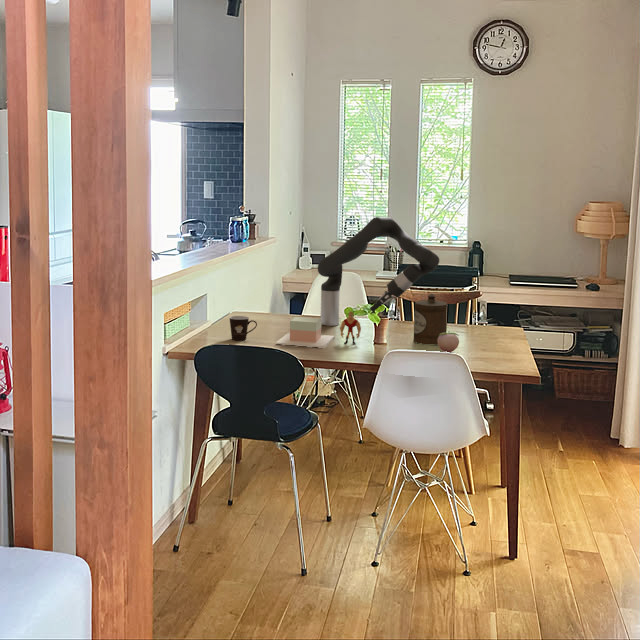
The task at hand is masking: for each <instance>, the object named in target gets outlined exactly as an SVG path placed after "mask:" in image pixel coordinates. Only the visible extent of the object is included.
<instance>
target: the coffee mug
mask: <svg viewBox="0 0 640 640" xmlns="http://www.w3.org/2000/svg"><path fill="white" fill-rule="evenodd" d="M252 322H253V323H255V326H254V327H253V328H252V329H250V330H249V331H248V326H249V325H250V323H252ZM229 325H230V336H231V340H232V341H234V342H245V341H246V340H247V336H248V334H249V333H251V332H253V331H254V330H255V329H256V328H257V326H258V323H257V321H256V320H253V319H251V320H249V316H246V315H245V316H244V315H233V316H230V317H229Z"/></svg>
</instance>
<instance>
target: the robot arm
mask: <svg viewBox="0 0 640 640" xmlns="http://www.w3.org/2000/svg"><path fill="white" fill-rule="evenodd" d="M377 238H391V239H393V240H395V241H396V242H397V243H398V245H399V247H400V249H401V250H402V251H403V252H404V253H406V254H407V255H408V256H410V257H411V258H413V259H414V260H415V261H417V262H418V264H415V263H412V264H409V265H408V266H406V268H405V269H403V271H401V272H400V273H399V274H397V275H396V276H395V277H394V278H393V279H391V280H390V281H389V282H388V283H387V284H386V287H387V289H388V290H385V291H384V292H383V293H382V295H381V296H380V297H379V298H378V300H377V301H375V303H373V305H371V306H370V310H371V311H372V312H375V311H376V310H377V309H378V308H380V307H382V306H383V305H385V304H386V303H387V302H388V301H390V300H391V299H392V298H393V296H394V297H396V298H399V297H401V295H403V294H404V293H406V291H407V290H408V289H410V288H411V286H412V285H413V284H414V283H416V281H418V280H419V279H420V278H421V277H423V276H426V275H427V274H429V273H431V272H432V271H434V270H435V269H436V268H437V267H438V266H439V265H440V257H439V256H438V255H437V254H436V253H435V252H433V251H432V250H431V249H430V248H428V247H426V246H425V245H423V244H422V243H421V242H419V241H418V240H416V239H415V238H413V237H412V236H411V235H409V234H408V233H407V232H406V231H405V230H404V229H403V228H402V227H401V226H400V225H399V223H398V222H397V221H395V219H393V218H392V217H390V216H375V217H373V218H372V219H371V220H370V221H369V222H368V223H367V224H365V226H364V227H363V228H362V229H361V230H359V231H358V232H357V233H356V234H355V235H354V236H352V237H351V238H349V239H348V240H347V241H345V242H344V243H343V244H341V246H339V247H338V248H337V249H335V251H333V252H331V254H328V255H327V256H324V258H322V259H321V260H320V261H319V263H318V264H317V272H318V274H319V275H320V276H321V277H325V278H327V279H326V280H325V281H324V282H323V283H322V284H321V287H320V317H319V318H321V326H331V327H332V326H339V324H340V322H339V321H340V300H341V298H340V293H341V290H340V289H341V286H342V283H343V282H342V281H343V280H342V279H343V265H344V264H347V263H349V262H353V261H354V260H356V259H358V258H359V257H360V256H362V255H363V254H364V253H365V252H366V251H367V249H368V246H369V243H370V242H372V241H373V240H374V239H377Z"/></svg>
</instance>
